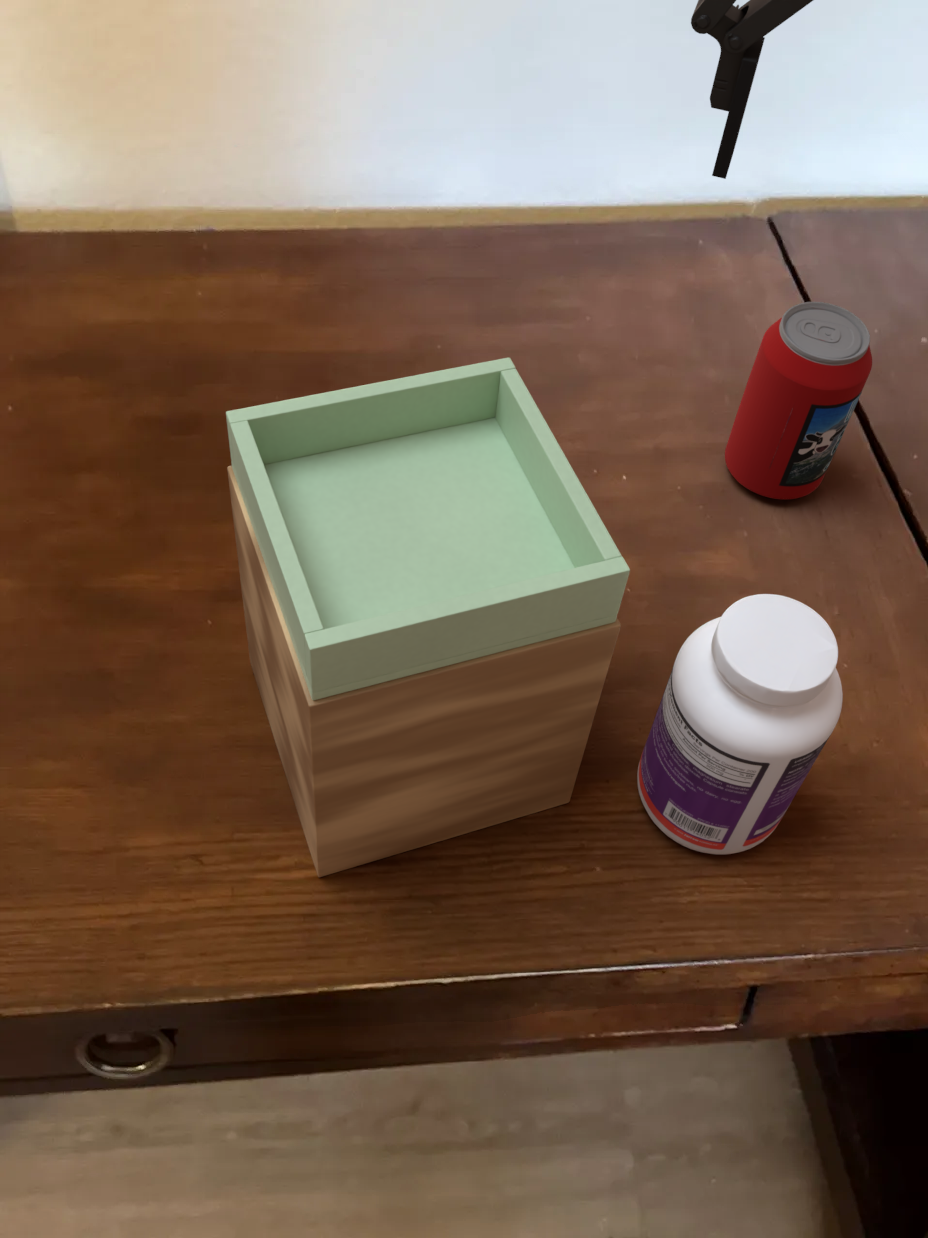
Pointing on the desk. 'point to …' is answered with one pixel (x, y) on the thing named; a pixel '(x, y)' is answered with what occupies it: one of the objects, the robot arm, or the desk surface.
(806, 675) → the pill bottle
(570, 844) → the desk surface
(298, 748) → the stand
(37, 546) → the desk surface
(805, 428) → the beverage can
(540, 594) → the tub
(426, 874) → the desk surface
